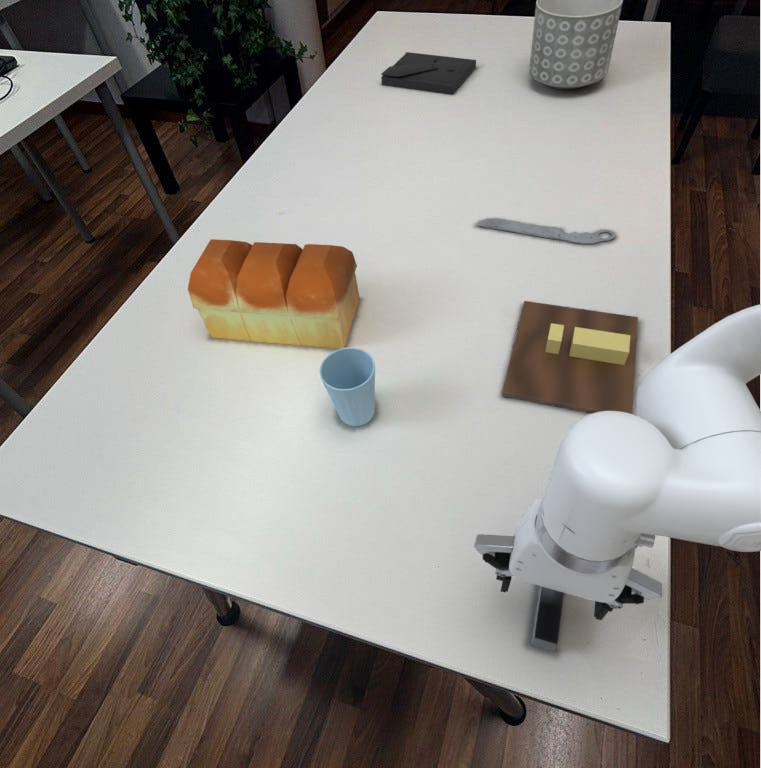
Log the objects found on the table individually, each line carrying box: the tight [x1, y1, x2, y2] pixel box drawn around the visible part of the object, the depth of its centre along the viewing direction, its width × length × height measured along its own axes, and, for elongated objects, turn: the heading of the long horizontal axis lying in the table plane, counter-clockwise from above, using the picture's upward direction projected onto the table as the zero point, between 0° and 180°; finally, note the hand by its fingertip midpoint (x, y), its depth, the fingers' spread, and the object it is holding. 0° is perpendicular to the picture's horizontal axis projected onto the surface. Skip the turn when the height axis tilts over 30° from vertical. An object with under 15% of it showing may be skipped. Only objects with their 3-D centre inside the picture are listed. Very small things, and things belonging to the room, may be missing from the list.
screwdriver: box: [530, 586, 565, 653], centre depth 66 cm, size 19×2×4 cm, turn 162°
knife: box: [476, 218, 616, 245], centre depth 106 cm, size 25×1×5 cm
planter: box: [528, 0, 624, 91], centre depth 134 cm, size 19×19×18 cm
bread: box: [187, 238, 361, 350], centre depth 93 cm, size 25×12×15 cm, turn 79°
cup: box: [319, 346, 376, 427], centre depth 80 cm, size 8×8×10 cm
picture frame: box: [380, 51, 477, 95], centre depth 150 cm, size 16×3×21 cm
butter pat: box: [545, 323, 564, 354], centre depth 86 cm, size 2×4×3 cm, turn 162°
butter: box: [569, 327, 630, 365], centre depth 84 cm, size 8×4×3 cm, turn 72°
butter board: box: [502, 300, 639, 414], centre depth 86 cm, size 18×20×1 cm
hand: (551, 591), depth 60 cm, fingers open, 9 cm apart
